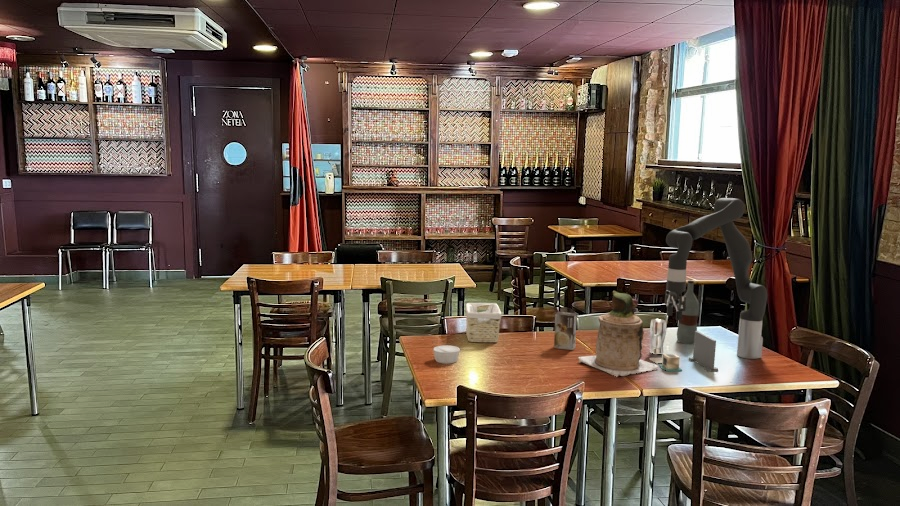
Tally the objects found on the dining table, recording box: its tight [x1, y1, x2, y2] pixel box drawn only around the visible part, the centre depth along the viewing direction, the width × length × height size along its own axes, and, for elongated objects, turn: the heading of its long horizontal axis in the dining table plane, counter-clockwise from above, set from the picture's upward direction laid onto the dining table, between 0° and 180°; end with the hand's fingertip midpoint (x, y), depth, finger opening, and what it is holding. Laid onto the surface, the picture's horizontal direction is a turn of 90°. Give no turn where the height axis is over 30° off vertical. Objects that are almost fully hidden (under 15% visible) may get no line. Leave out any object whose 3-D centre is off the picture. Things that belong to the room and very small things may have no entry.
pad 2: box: [658, 364, 683, 372], centre depth 282 cm, size 7×7×1 cm
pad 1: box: [648, 357, 663, 365], centre depth 292 cm, size 7×7×1 cm
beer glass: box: [649, 318, 667, 355], centre depth 304 cm, size 7×7×15 cm
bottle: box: [676, 280, 700, 345], centre depth 324 cm, size 9×9×30 cm
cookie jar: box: [578, 290, 659, 378], centre depth 282 cm, size 25×25×32 cm
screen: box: [688, 330, 719, 372], centre depth 287 cm, size 5×16×13 cm, turn 7°
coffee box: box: [553, 311, 578, 351], centre depth 309 cm, size 9×6×16 cm
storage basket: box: [465, 302, 502, 343], centre depth 325 cm, size 24×16×15 cm
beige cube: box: [661, 353, 680, 369], centre depth 282 cm, size 5×5×5 cm
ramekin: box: [432, 344, 461, 365], centre depth 286 cm, size 11×11×5 cm
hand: (673, 317), depth 279 cm, fingers open, 8 cm apart
